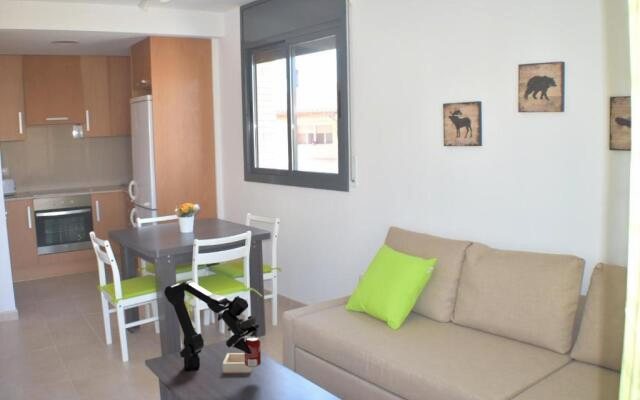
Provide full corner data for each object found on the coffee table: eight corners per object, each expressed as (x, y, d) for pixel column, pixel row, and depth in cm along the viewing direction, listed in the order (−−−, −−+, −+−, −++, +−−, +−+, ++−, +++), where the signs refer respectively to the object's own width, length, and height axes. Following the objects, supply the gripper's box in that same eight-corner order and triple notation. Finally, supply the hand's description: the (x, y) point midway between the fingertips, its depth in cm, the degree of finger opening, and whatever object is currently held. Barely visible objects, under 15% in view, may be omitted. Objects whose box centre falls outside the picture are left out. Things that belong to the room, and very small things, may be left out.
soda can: (258, 369, 246) (257, 341, 245) (242, 367, 248) (242, 340, 246) (262, 362, 253) (262, 336, 252) (247, 361, 254) (247, 335, 253)
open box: (222, 373, 259) (222, 363, 258) (227, 362, 271) (227, 353, 271) (250, 373, 259) (250, 363, 258) (254, 362, 271) (254, 352, 270)
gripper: (231, 317, 241) (254, 347, 237) (255, 305, 258) (277, 333, 254) (216, 332, 245) (238, 362, 242) (241, 320, 262) (262, 347, 258)
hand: (255, 351), depth 249 cm, fingers closed on soda can, 6 cm apart
